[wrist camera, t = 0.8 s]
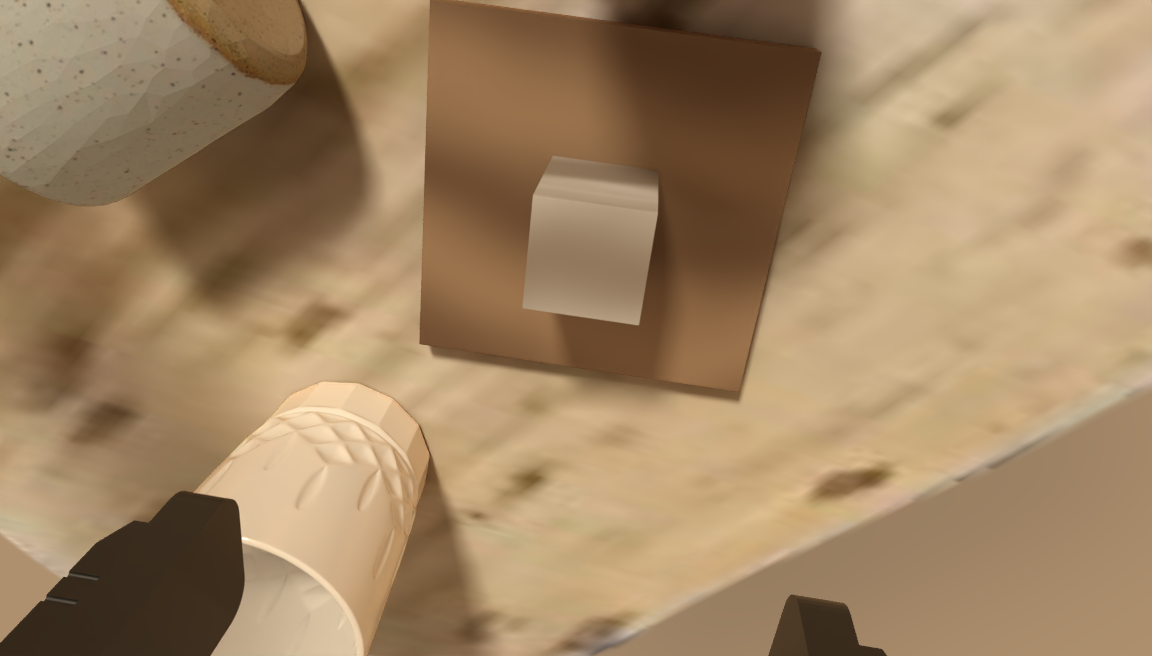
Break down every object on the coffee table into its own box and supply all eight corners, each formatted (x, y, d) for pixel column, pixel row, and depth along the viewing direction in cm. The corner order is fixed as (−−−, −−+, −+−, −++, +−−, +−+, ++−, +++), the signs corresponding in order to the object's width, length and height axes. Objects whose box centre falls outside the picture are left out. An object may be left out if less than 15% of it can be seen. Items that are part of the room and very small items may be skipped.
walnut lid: (442, -4, 26) (384, 11, 20) (812, 46, 25) (853, 74, 20) (429, 326, 31) (381, 407, 26) (735, 372, 31) (751, 463, 25)
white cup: (466, 511, 34) (397, 713, 25) (301, 532, 36) (180, 730, 27) (409, 352, 31) (308, 518, 22) (230, 382, 32) (66, 550, 24)
